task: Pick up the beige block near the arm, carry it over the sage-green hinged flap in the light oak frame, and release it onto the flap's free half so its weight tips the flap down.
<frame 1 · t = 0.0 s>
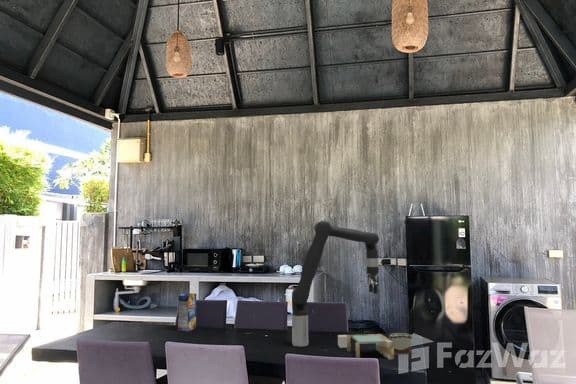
hand: (373, 292, 260), 29 cm above the table, fingers open, 8 cm apart
trapdoor: (368, 339, 230), point 8 cm above the table, hinge at 0.0°
food container: (399, 353, 233), on the table
juice carton: (186, 329, 298), on the table
trapdoor frame: (368, 354, 229), on the table
beige block: (343, 346, 248), on the table
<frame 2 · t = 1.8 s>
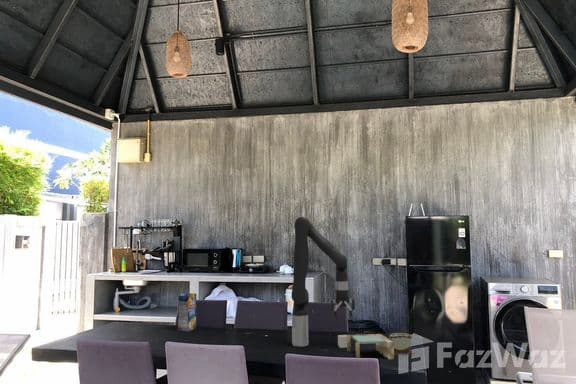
hand: (342, 317, 249), 16 cm above the table, fingers open, 8 cm apart
nothing on the table moved.
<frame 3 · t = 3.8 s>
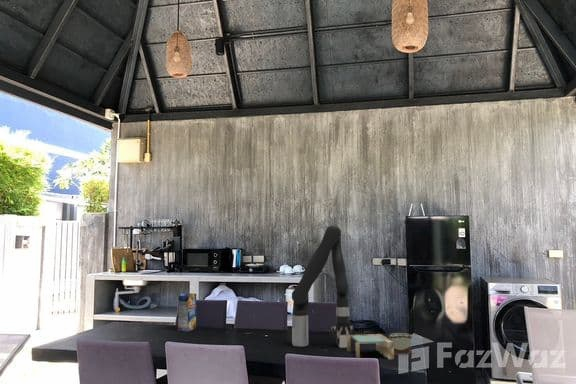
hand: (343, 344, 248), 1 cm above the table, fingers closed on beige block, 5 cm apart
beige block: (343, 346, 248), on the table, touching gripper
everything else where it was.
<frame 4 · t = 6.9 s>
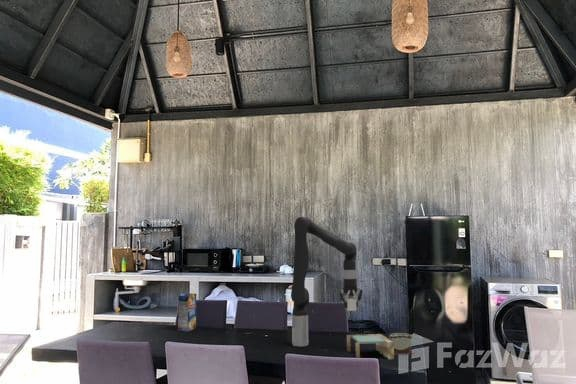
hand: (350, 308, 242), 23 cm above the table, fingers closed on beige block, 5 cm apart
beige block: (350, 310, 242), point 22 cm above the table, touching gripper
everything else where it was.
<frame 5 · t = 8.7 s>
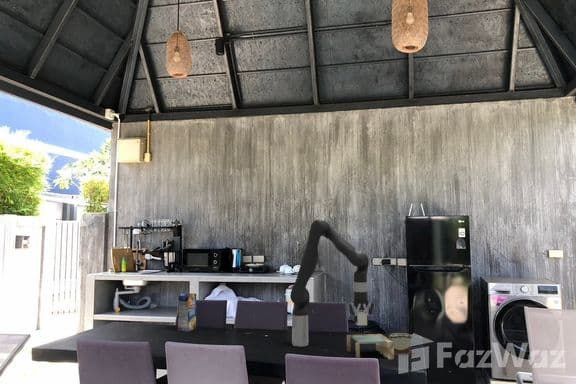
hand: (361, 322, 231), 17 cm above the table, fingers closed on beige block, 5 cm apart
beige block: (361, 324, 230), point 16 cm above the table, touching gripper
everything else where it was.
when the fingers open (12 cm above the table, at t = 10.0 s): beige block drops 9 cm and tips over, resting on trapdoor.
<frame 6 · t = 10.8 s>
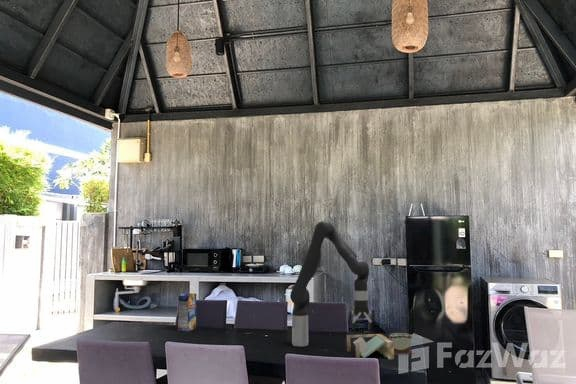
hand: (361, 329, 230), 13 cm above the table, fingers open, 8 cm apart
trapdoor: (370, 346, 229), point 4 cm above the table, hinge at -32.7°, touching beige block
beige block: (364, 349, 229), point 3 cm above the table, tilted 33°, touching trapdoor
everything else where it was.
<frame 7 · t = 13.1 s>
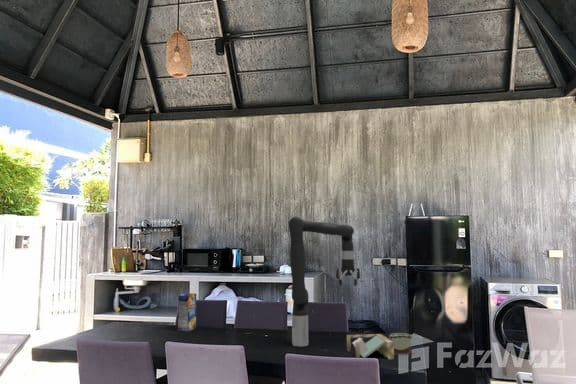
hand: (347, 285, 256), 34 cm above the table, fingers open, 8 cm apart
nothing on the table moved.
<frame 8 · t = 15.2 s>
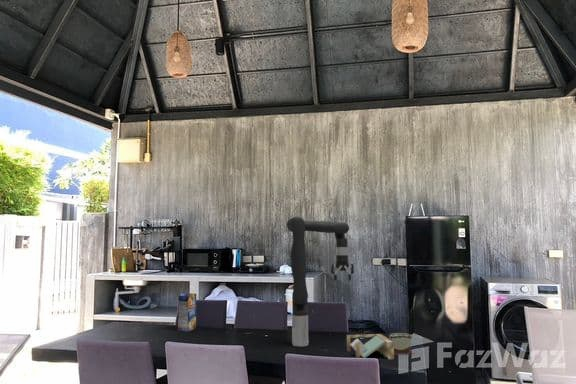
hand: (342, 280, 267), 36 cm above the table, fingers open, 8 cm apart
trapdoor: (370, 346, 229), point 4 cm above the table, hinge at -32.8°, touching beige block
beige block: (362, 351, 229), point 2 cm above the table, tilted 39°, touching trapdoor
everything else where it was.
at the end: trapdoor at -33° (first picture: +0°); beige block inside the target area (1.1 cm from its centre), point 2.0 cm above the table; the gripper is holding nothing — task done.
